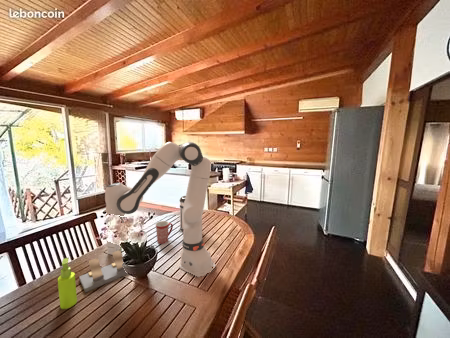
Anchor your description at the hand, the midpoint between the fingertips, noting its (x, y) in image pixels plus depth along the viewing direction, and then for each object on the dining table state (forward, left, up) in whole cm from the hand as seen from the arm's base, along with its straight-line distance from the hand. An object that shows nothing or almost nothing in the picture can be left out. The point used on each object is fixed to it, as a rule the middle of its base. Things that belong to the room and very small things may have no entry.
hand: (116, 237), depth 109 cm
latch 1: (-1, +11, -13) cm, 17 cm away
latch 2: (-1, 0, -13) cm, 13 cm away
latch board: (-1, +6, -19) cm, 20 cm away
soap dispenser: (-9, +24, -19) cm, 32 cm away
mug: (+12, -35, -19) cm, 42 cm away
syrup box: (+20, -4, -19) cm, 28 cm away
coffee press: (+18, -59, -19) cm, 65 cm away
